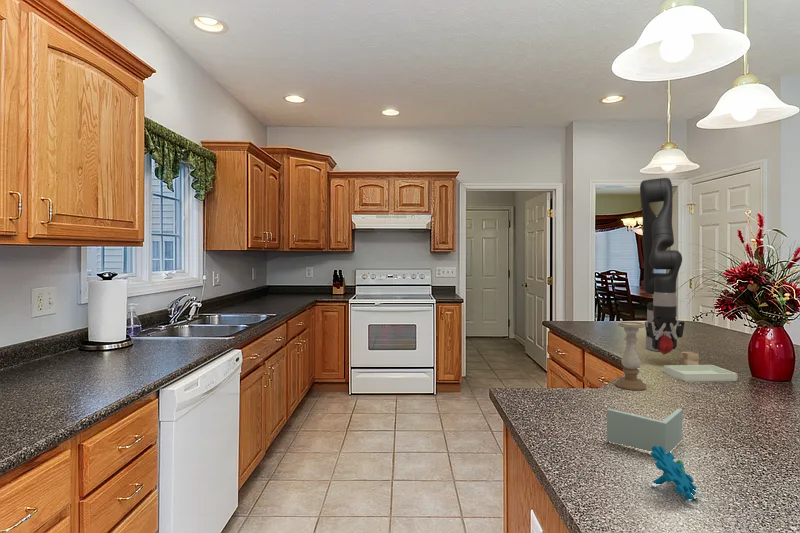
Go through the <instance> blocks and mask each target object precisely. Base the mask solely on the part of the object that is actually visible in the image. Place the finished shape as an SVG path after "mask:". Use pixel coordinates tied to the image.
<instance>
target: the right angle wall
mask: <svg viewBox="0 0 800 533" xmlns="http://www.w3.org/2000/svg"><path fill="white" fill-rule="evenodd" d="M681 440H682V441H683V408H676V410H674V411H673V412H672V413H671V414H670V415H668V416H667V417H666V418H664V420H659V419H654V418H650V417H646V416H642V415H639V414H633V413H629V412H625V411H622V410H617V409H613V408H607V409H606V442H607V441H610V442H614V443H618V444H623V445H626V446H631V447H634V448H639V449H643V450H647V451H652V452H653V450H652V449H651V448H652V447H654V446H658V447H659V446H662V447H663V448H664V449H665V450H666V452H665V454H667V453H669V452H670V451H671V450H672V449H673V448H674V447H675V446H676V445H677V444H678V443H679V442H680V441H681Z"/></svg>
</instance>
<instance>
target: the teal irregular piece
mask: <svg viewBox="0 0 800 533" xmlns="http://www.w3.org/2000/svg"><path fill="white" fill-rule="evenodd" d="M651 449H652V450H653V452H652V453H651V455H650V456H651V457H652V458H653V459H654V460H655V462H654V464H655V466H656V469H658V470H659V471H662V475H660V476H659V477H658V478H656V479H654V480H653V481H652V482H654V483H656V484H661V485H662V484H664V483H668V484H669V483H671V482H672V483H674V484H675V485H676V486H674V490H675V491H676V492H677V494H678V495H679V496H680V495H682V494H683V496H684V498H685V499H686V500H687V499H694V497H693V495H695V493H696V492H695V491H694V490H696V488H698V487H697V486H696V485H695V484H693V483H694V482H695V480H694V479H693V477H692V475H690V474H689V473H686V470H685V469H686V468H685V466H684V462H683V461H682V460H681V459H678V460H676V461H674V460H675V459H676V458H675V456H674V454H673V453H670V452H669V453H667V454H665V452H666V450H665V449H664V448H663V447H662V446H659V447H658V446H654V447H652V448H651ZM693 489H694V490H693ZM691 493H692V494H693V495H692V494H691ZM696 494H697V493H696Z"/></svg>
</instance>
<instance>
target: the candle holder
mask: <svg viewBox="0 0 800 533" xmlns="http://www.w3.org/2000/svg"><path fill="white" fill-rule="evenodd" d="M617 326H618V327H621V328H623V331H624V332H625V335H626V336H625V337H624V341H625V343H626V344H625V345H626V346H625V350H624V354H623V355H622V357H621V364H622V366H623V368H622V372H623V374H624V376H621V377H619V378H618V379H617V380H615V386H616V387H618V388H620V389H625V390H631V391H643V390H645V389H647V384H646V383H644V382H643V380H642V379H640V378H638V375H639V374H638V373H640V370H639V369H638V368H639V367H640V366H641V359H640V357H639V355H638V351H637V342H638V341H639V339H638V338H637V334H638V332H640V330H639V329H643V328H645V323H643V322H639V321H620V322H619V321H618V323H617Z"/></svg>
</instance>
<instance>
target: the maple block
mask: <svg viewBox="0 0 800 533" xmlns="http://www.w3.org/2000/svg"><path fill="white" fill-rule="evenodd" d="M699 356H700V355H699V353H696V352H693V351H681V352H680V365H700V364H699V362H700V361H699V360H700V359H699Z"/></svg>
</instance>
